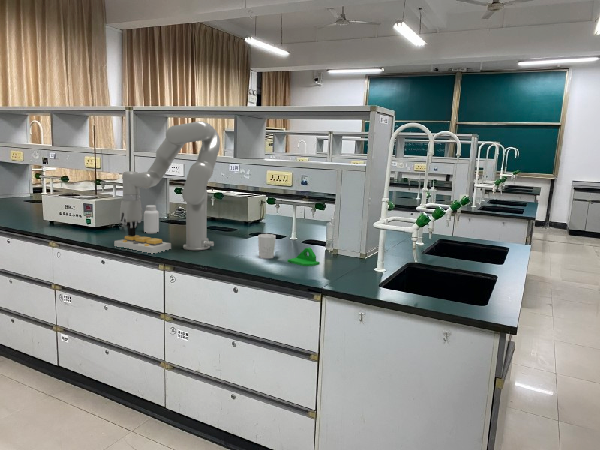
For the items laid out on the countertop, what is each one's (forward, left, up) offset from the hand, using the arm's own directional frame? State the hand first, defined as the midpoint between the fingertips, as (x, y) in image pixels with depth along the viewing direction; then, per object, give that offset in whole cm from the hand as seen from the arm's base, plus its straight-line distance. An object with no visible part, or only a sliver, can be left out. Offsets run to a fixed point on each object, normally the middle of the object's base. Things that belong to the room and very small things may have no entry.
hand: (131, 235), depth 215 cm
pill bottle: (+10, -34, -5) cm, 36 cm away
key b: (-7, +1, -3) cm, 8 cm away
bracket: (-85, -1, -6) cm, 85 cm away
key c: (0, 0, -3) cm, 3 cm away
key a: (-14, +3, -3) cm, 15 cm away
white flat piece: (-7, +2, -5) cm, 9 cm away
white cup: (-67, -5, -5) cm, 67 cm away
